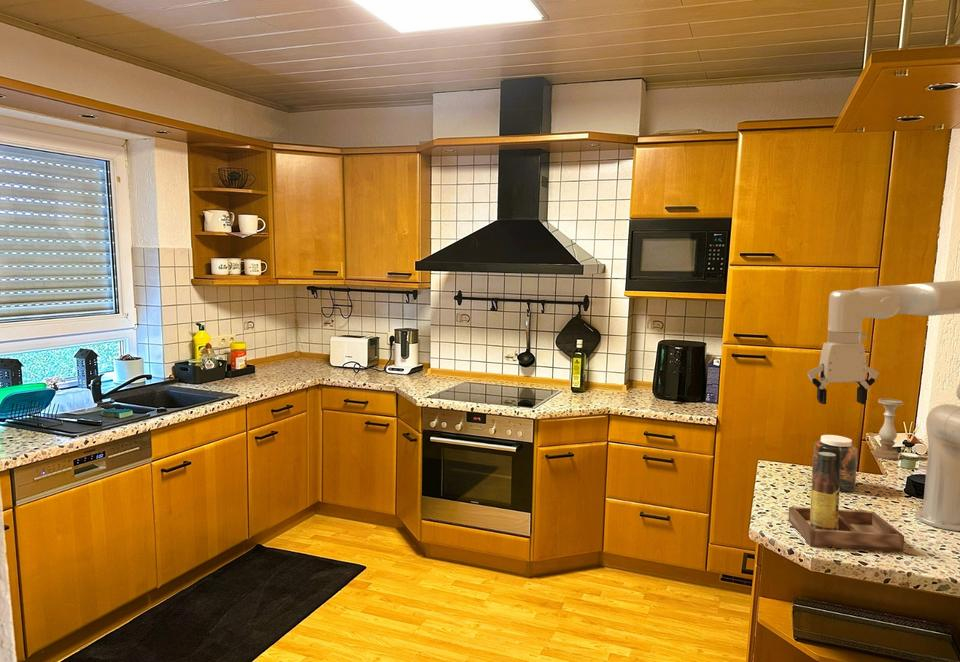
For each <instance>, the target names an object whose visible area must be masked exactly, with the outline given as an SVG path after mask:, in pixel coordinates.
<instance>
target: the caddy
mask: <svg viewBox="0 0 960 662" xmlns="http://www.w3.org/2000/svg"><path fill="white" fill-rule="evenodd" d="M788 507H789V508H788V520H787V521H788V523H789V522H790V523H791V524H792V525H791V524H790V523H789V524H790V525H791V527H792V528H794V530H795V529H796V530H797V531H798V532H799V533H800V534H801V535H800V534H799V533H798V532H797V531H796V530H795V531H796V532H797V533H798V534H799V535H800V537H803V538H804V539H805V540H806V541H805V540H804V539H803V538H802V539H803V540H804V541H805V542H806V544H808V545H810V546H809V547H815V546H816V547H819V548H830V547H834V549H846V548H850V549H849V550H861V549H865V550H864V551H879V552H880V551H881V552H892V553H893V552H894V553H896V552H897V553H904V546H905V545H904V543H905V535H904V534H902V533H901V532H900V531H899V530H898V529H896V528H895V527H894V526H893V525H891V523H889V522H888V521H886V520H885V519H884V518H883V517H881V516H880V515H879V514H878V513H876V512H875V511H869V510H851V509H839V511H838V526H837V530H822V529H813V528H812V526H811V525H810V508H811V507H800V506H788Z"/></svg>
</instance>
